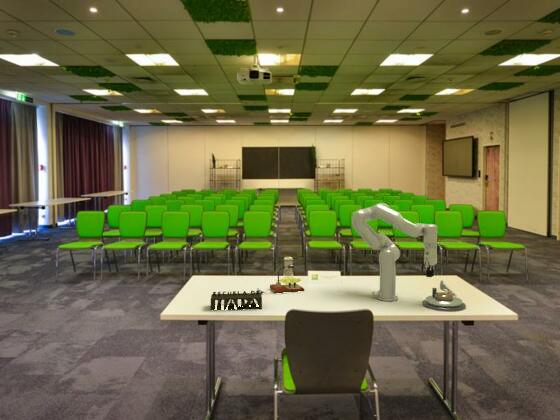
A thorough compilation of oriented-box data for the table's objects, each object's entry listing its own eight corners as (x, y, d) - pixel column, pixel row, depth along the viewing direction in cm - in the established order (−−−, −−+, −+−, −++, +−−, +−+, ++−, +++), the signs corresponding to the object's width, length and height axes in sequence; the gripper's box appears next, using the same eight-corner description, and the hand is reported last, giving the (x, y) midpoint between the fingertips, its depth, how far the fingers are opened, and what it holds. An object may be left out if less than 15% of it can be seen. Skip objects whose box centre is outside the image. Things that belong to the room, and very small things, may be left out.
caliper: (439, 289, 322) (439, 279, 322) (441, 289, 322) (441, 279, 322) (455, 296, 302) (455, 287, 301) (456, 296, 302) (456, 286, 302)
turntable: (428, 307, 273) (429, 295, 272) (423, 297, 293) (423, 286, 292) (465, 308, 270) (466, 296, 270) (457, 298, 290) (457, 287, 290)
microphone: (254, 291, 321) (254, 265, 319) (297, 287, 330) (296, 262, 329) (260, 296, 308) (260, 268, 307) (304, 291, 318) (304, 265, 316)
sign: (210, 311, 274) (210, 294, 273) (211, 306, 285) (211, 289, 284) (262, 309, 277) (261, 292, 276) (261, 304, 287) (260, 288, 287)
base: (425, 310, 271) (426, 301, 271) (419, 299, 295) (419, 290, 295) (470, 312, 268) (470, 302, 268) (460, 300, 292) (460, 291, 291)
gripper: (432, 247, 273) (431, 279, 275) (441, 244, 286) (440, 274, 288) (419, 246, 278) (418, 278, 279) (428, 243, 291) (428, 273, 292)
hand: (429, 276), depth 283 cm, fingers closed
